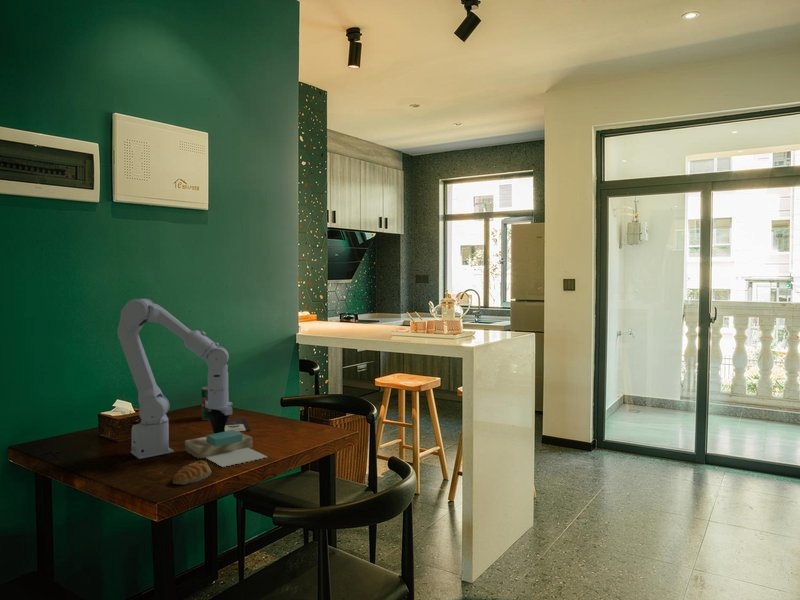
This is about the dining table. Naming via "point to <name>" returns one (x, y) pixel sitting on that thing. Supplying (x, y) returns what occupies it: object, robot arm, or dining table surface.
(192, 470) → the pastry
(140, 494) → the dining table surface
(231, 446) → the beige flat block
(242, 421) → the chocolate bar
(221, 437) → the tile
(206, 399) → the canned tomato
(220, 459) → the mat
